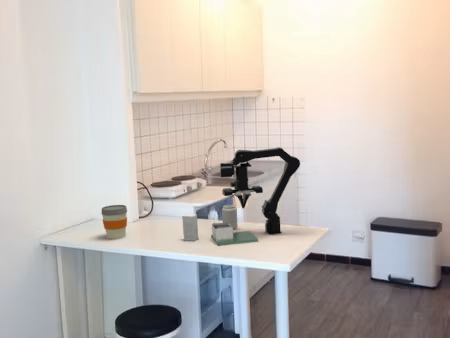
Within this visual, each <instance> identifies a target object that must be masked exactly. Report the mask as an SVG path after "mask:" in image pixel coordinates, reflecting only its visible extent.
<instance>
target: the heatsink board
mask: <svg viewBox="0 0 450 338" xmlns="http://www.w3.org/2000/svg"><path fill="white" fill-rule="evenodd" d="M211 239H212V240H213V241H214V243H215V244H216V245H217V246H228V245H237V244H239V245H240V244H247V243H256V242H259V239H258V238H257V236H255V235H254V234H253V233H252V232H251V231H250V230H248V231H238V232H237V231H236V232H234V230H233V227H232V226H231V225H230V224H229V223H228V226H213V223H211Z"/></svg>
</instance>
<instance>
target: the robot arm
mask: <svg viewBox="0 0 450 338" xmlns="http://www.w3.org/2000/svg"><path fill="white" fill-rule="evenodd" d="M272 157H273V158H274V157H279V158H280V159H282V160H283V161H284V162H285V163H284V167H283V172H282V174H281V176H280V178H279V180H278V182H277V184H276V187H275V188H274V190H273V192H272V193H271V196H270V198H269V199H268V200H266V199H265V200H264V203H263V204H262V205H261V208H262V209H261V214H263V216H264V217H265V218H266V220H265V224H264V229H265V231H264V232H265V233H266V234H267V235H278V234H282V231H281V217H280V215H279V214H278V213H277V209H278V206H279V201H280V199H281V198H282V196H283V194H284V191H285V190H286V187H287V185H288V183H289V181H290V179H291V177H292V176H294V174H295V173H296V172H297V171H298V169H299V168H300V166H301V161H300V158H299V159H298V157H296V156H294V155H290V154H289V153H288V152H287V151H286V150H285V149H284V148H282V147H280V146H278V147H274V148H264V149H258V150H257V149H256V150H250V149H237V150H236V152H235V153H234V157H233V159H232V160H231V162H230V163H229V162H226V163H224V162H221V163H220V165H219V166H220V167H219V175H220V176H219V177H220V178H233V176H235V180H234V179H231V180H230V181H229V183H230V187H225V188H223V189H222V191H221V192H222V195H223V196H224V197H230V196H233V195H234V196H235V197H236V198H238V200H239V203H240V206H241V209H245V207H246V205H247V203H248V200H249V198H250V197H251V196H252V194H251V193H254V192H255V193H256V194H263V193H264V191H263V189H264V188H263V187H262V186H260V185H252V186H251V187H249V172H248V168H250V167H252V164H250V162H249V161H253V160H257V159H264V158H272ZM232 188H234V189H232Z"/></svg>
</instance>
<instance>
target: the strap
mask: <svg viewBox="0 0 450 338" xmlns="http://www.w3.org/2000/svg"><path fill="white" fill-rule="evenodd" d="M212 224H213V226H228V223H223V222H217V223H215V222H212Z"/></svg>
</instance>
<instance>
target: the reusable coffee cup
mask: <svg viewBox="0 0 450 338" xmlns="http://www.w3.org/2000/svg"><path fill="white" fill-rule="evenodd" d="M127 212H128V208H127V205H124V204H111V205H106V206H104V207H102V208H101V215H102V224H103V227H104V230H105V233H106V238H107V239H108V240H119V239H123V238H125V237H126V232H127V231H126V230H127V228H126V227H127V226H128V217H127Z"/></svg>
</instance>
